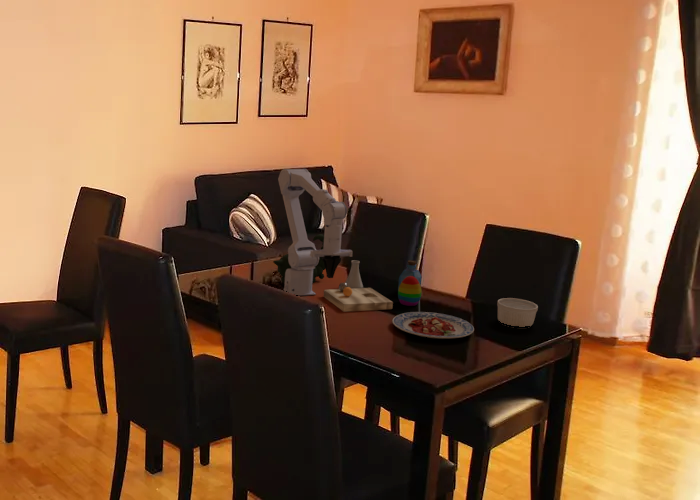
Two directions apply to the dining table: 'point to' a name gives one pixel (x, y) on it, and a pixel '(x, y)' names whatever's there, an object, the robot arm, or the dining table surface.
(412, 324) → the ceramic plate
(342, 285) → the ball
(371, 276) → the dining table surface
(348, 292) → the ball
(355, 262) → the flask
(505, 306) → the ramekin
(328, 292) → the board
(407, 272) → the perfume bottle
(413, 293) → the decorative egg
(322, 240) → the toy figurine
